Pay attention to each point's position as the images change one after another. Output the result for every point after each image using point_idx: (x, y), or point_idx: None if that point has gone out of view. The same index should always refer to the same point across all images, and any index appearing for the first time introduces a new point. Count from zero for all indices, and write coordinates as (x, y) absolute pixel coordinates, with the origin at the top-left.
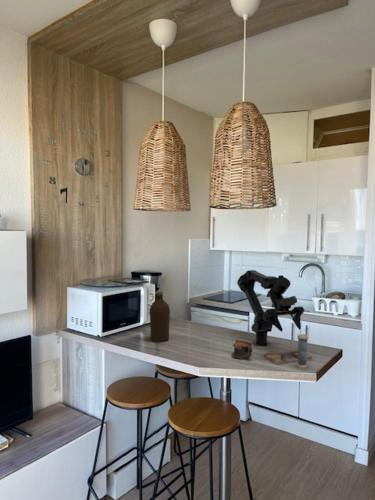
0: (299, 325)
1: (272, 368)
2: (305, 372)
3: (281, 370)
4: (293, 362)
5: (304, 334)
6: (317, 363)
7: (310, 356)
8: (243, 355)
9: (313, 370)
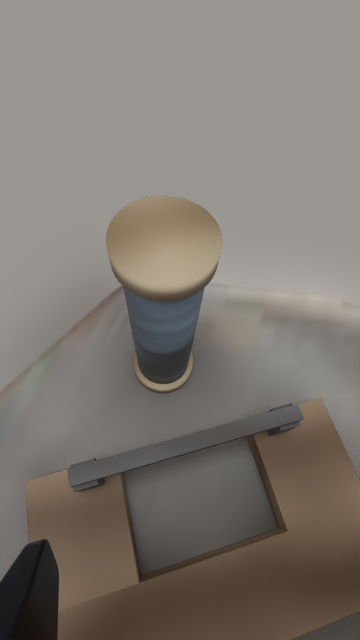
0: (20, 595)
1: (339, 346)
2: None
3: (294, 317)
4: None
5: (126, 258)
6: (43, 402)
7: (42, 477)
8: None
9: None
